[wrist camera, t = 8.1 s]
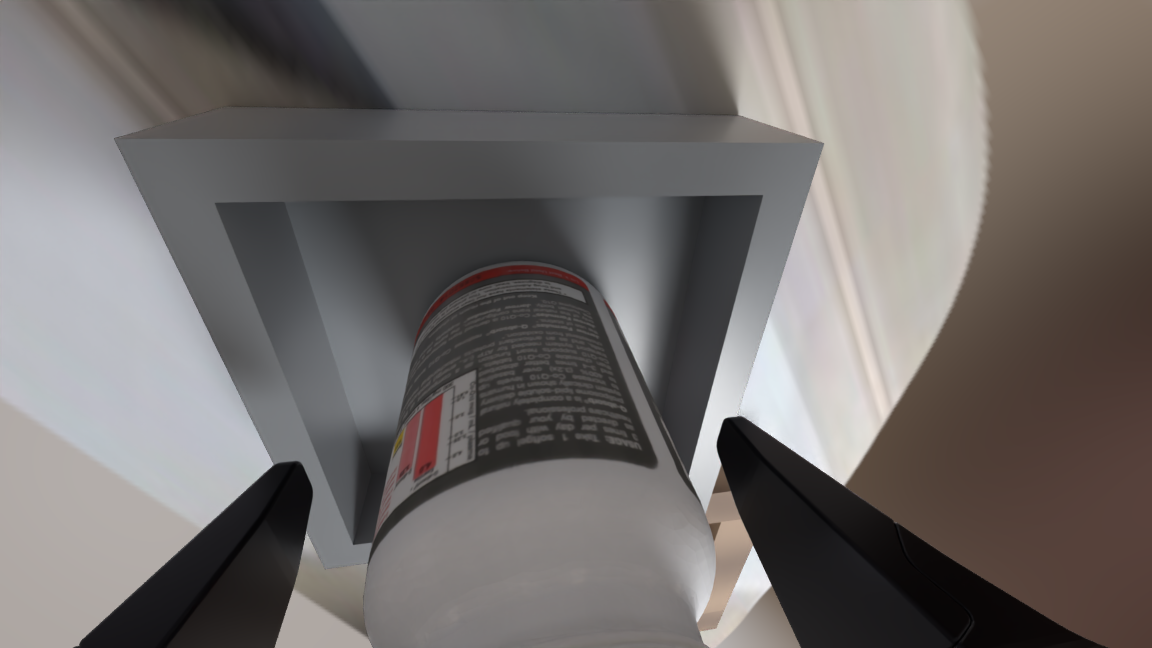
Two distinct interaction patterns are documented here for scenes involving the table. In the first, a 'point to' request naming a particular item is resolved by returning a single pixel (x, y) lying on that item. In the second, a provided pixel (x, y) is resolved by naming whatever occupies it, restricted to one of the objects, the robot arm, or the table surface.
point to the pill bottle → (533, 482)
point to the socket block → (724, 550)
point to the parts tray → (463, 259)
